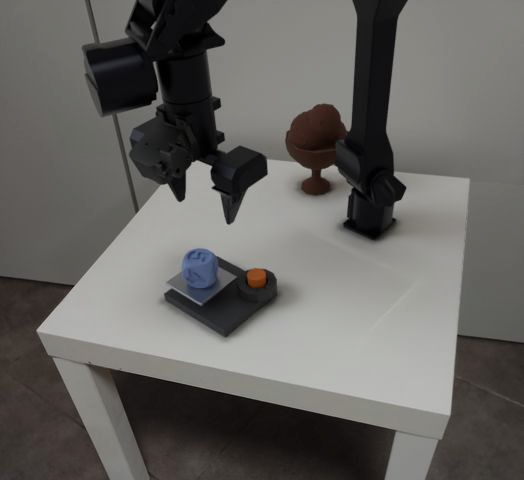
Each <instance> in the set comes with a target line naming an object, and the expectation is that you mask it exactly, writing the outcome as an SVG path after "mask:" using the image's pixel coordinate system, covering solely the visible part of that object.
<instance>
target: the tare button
mask: <svg viewBox="0 0 524 480" xmlns="http://www.w3.org/2000/svg"><path fill="white" fill-rule="evenodd" d="M254 268H255V269H253V268H250V269H251V270H250V269H249V270H250V271H249V272H248V273H247V280H248V285H249V286H250V287H252V288H261V287H263V286H265V284H266V273H265V271H264V270H262V269H263V268H260V269H259V268H258V267H254Z"/></svg>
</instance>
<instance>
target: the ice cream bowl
mask: <svg viewBox="0 0 524 480" xmlns="http://www.w3.org/2000/svg"><path fill="white" fill-rule="evenodd" d="M349 131H350V130H347V128H346V125H345V123H344V122H342V116H341V113H340V111H339V110H338V109H337V108H336V107H335V106H334V104H332V103H331V104H330V103H318V104H316V105H314V106H313V107H312V108H311V109H309V110H307V111H302V112H300V113H299V114H298V115H297V116H295V118H293V120H292V121H291V123H290V127H289V130H287V131H286V132H285V139H284V144H285V148H286V151H287V153H288V155H289V156H290V157H291V158H292V159H293V160H294V161H295V162H296V163H298V164H299V165H300V166H302V167H303V168H305V169H308V170H310V171H311V176H310V177H307V178H305V179H303V181H301V185H300V190H301V192H303V193H305V194H306V195H309V196H310V195H311V196H315V197H316V196H321V195H325V194H327V193H328V192H330V191H331V189H332V188H331V187H332V186H331V182H330V181H329V180H328V179H327V178H325V177H323V176H322V170H325V169H328V168H330V167H332V166H333V165H334V162H335V159H336V146H335V144H336V141H337V140H343V139H344V138H345V137H346V135H347V134H348V132H349Z"/></svg>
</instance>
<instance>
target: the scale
mask: <svg viewBox="0 0 524 480" xmlns="http://www.w3.org/2000/svg"><path fill="white" fill-rule="evenodd" d="M215 256H216V257H217V259H218V267H220V268H222V269H224V270H225V271H227V272H229V273H231V274H233V275H235V276H237V280H235V281H234V282H233V283H231V284H230V285H229V286H227V287H226V288H225V289H224V290H222V291H221V292H220V293H218V294H217V295H216V296H214V297H213V298H212V299H210V300H209V301H208V302H206V303H205V304H204V305H203V306H200V305H199V304H197V303H195V302H194V301H192V300H190V299H189V298H187V297H185V296H184V295H182V294H180V293H179V292H177V291H175V290H174V289H172V288H170V289H168V290H167V291H166V292H164V293H163V295H164V301H165V302H167V303H168V304H170V305H171V306H174V307H175V308H176V309H178V310H179V311H182V312H183V313H185V314H186V315H188V316H190V317H191V318H193V319H195V320H196V321H197V322H199V323H201V324H203V325H204V326H206V327H207V328H209V329H211V330H212V331H213V332H215V333H217V334H218V335H220V336H222V337H224V338H227V337H228V336H229V335H230V334H231V333H233V332H234V331H236V329H238V328H239V327H240V326H241V325H243V323H245V322H246V321H247V320H248V319H250V318H251V317H252V316H253V315H254V314H256V313H257V312H258V311H259V310H261V309H262V308H263V307H264V306H265V305H267V304H268V303H269V302H270V301H271V300H273V299H274V298H275V297H276V296H277V295H278V278H277V277H276V275H275V273H274V272H272V271H271V270H268V269H266V268H259V269H262V270H264V271H265V273H266V284H265V286H263V287H261V288H252V287H250V286H249V285H248V280H247V273H248V272H249V271H250V270H251V269H255V268H256V267H254V268H250V269H247V270H245V269H242V268H240V267H239V266H237V265H235V264H233V263H231V262H229V261H227V260H225V259H223V258H222V257H220V256H218V255H215Z"/></svg>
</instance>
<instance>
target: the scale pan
mask: <svg viewBox="0 0 524 480" xmlns="http://www.w3.org/2000/svg"><path fill="white" fill-rule="evenodd" d="M235 280H237V276H235V275H233V274H231V273H229V272H227V271H225V270H224V269H222V268H220V267H218V273H217V278H216V281H215V283H214V284H212V285H211V286H209V287H206V288H195V287H192V286H190V285H189V284H187V283H186V282H185V280H184V279H183V277H182V270H181V271H180V272H179V273H177V274H176V275H174V276H173V277H171V278H170V279H169V280H167V281H166V282H165V286H167V287H169V288H170V289H171V288H172V289H174V290H175V291H177V292H179V293H180V294H182V295H184V296H185V297H187V298H189V299H190V300H192V301H194V302H195V303H197V304H199V305H200V306H203V305H204V304H205V303H206V302H208V301H209V300H210V299H212V298H213V297H214V296H216V295H217V294H218V293H220V292H221V291H222V290H224V289H225V288H226V287H227V286H229V285H230V284H231V283H233V282H234V281H235Z"/></svg>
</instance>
